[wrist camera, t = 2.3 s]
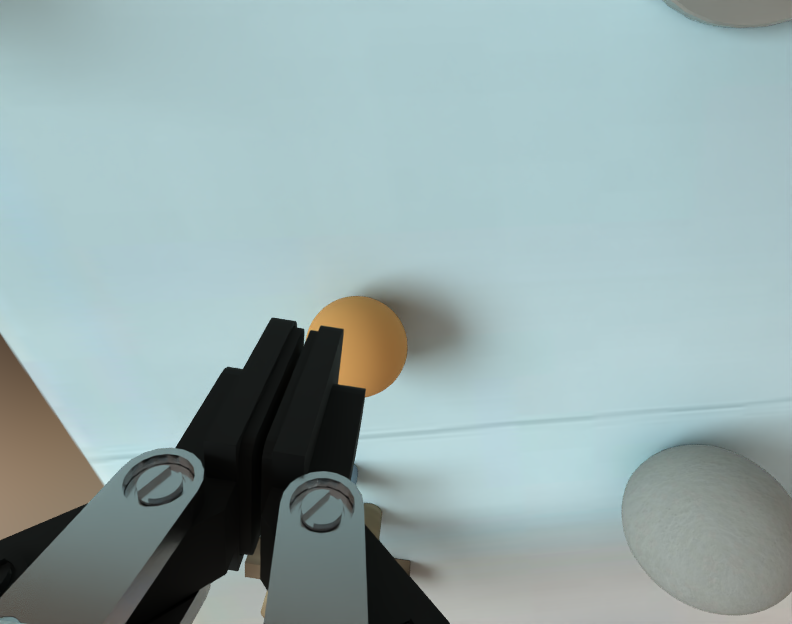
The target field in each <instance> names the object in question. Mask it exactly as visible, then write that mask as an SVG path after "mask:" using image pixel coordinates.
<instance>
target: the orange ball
mask: <svg viewBox="0 0 792 624" xmlns="http://www.w3.org/2000/svg"><path fill="white" fill-rule="evenodd" d="M321 325H322V326H329V327H335V328H341V329H344V336H343V345H342V354H341V362H340V371H339V380H338V384H340V385H346V386H352V387H359V388H365V389H366V393H365V397H369V396H372V395H375V394H377V393H379V392H381V391H383V390H385V389H386V388H387V387H388V386H390V385H391V384H392V383H393V382H394V381H395V380H396V378H397V377H398V376H399V374H400V373H401V371H402V368H403V366H404V364H405V361H406V356H407V337H406V333H405V330H404V327H403V325H402V323H401V321H400V320H399V318H398V317H397V315H396V314H395V313H394V312H393V311H392V310H391V309H390V308H389V307H387V306H386V305H385V304H383V303H381V302H379V301H377V300H375V299H372V298H368V297H363V296H351V297H345V298H341V299H338V300H336V301H334V302H332V303H330V304H329V305H327V306H326V307H325V308H323V309H322V310H321V311H320V312H319V313H318V314H317V316H316V317H315V318H314V320H313V321H312V323H311V325H310V327H309V330H308V333H307V337H308V334H309V332H310V330H315V331H318V330H319V328H320V326H321ZM307 337H306V339H307Z"/></svg>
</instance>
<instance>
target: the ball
mask: <svg viewBox="0 0 792 624" xmlns="http://www.w3.org/2000/svg"><path fill="white" fill-rule="evenodd" d="M622 524H623V529H624V534H625V537H626V540H627V543H628V545H629V547H630V550H631V552H632V554H633V555H634V557H635V559H636V560H637V562H638V563H639V565H640V566H641V568H642V569H643V570H644V571H645V572H646V574H647V575H648V576H649V577H650V578H651V579H652V580H653V581H654V582H655V583H656V584H657V585H658V586H659V587H661V588H662V589H663V590H664V591H666V592H667V593H669V594H670V595H671V596H673V597H674V598H676V599H678V600H679V601H681V602H683V603H685V604H687V605H689V606H692V607H694V608H697V609H699V610H702V611H706V612H710V613H715V614H721V615H747V614H753V613H757V612H760V611H763V610H766V609H768V608H770V607H772V606H774V605H776V604H777V603H779V602H780V601H782V600H783V599H784V598H785V597H786V596H788V595H789V594H790V592H791V591H792V499H791V497H790V496H789V495H788V493H787V492H786V491H785V489H784V488H783V487H782V486H781V485H780V484H779V482H778V481H777V480H776V479H775V478H774V477H772V476H771V475H770V474H769V473H768V472H766V471H765V470H764V469H763V468H761V467H760V466H758V465H757V464H755V463H754V462H752V461H750V460H749V459H747V458H745V457H743V456H741V455H739V454H736V453H734V452H732V451H729V450H726V449H723V448H719V447H715V446H709V445H683V446H677V447H673V448H669V449H666V450H663V451H661V452H659V453H657V454H655V455H653V456H651V457H650V458H648V459H647V460H646V461H644V462H643V463H642V464H641V465H640V466H639V467H638V468H637V469H636V470H635V471H634V473H633V474H632V476H631V477H630V479H629V481H628V483H627V485H626V488H625V491H624V495H623V501H622Z"/></svg>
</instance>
